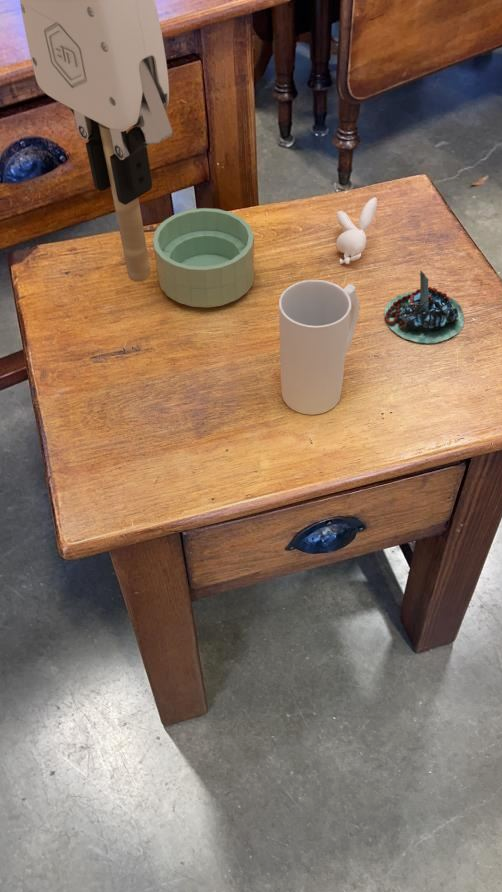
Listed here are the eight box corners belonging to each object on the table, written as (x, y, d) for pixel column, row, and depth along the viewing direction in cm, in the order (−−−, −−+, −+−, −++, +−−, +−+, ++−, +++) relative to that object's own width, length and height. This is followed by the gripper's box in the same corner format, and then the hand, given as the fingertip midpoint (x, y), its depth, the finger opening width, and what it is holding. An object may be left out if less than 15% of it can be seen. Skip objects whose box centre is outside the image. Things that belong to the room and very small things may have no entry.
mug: (312, 427, 84) (317, 337, 74) (265, 394, 87) (263, 303, 77) (376, 377, 88) (388, 286, 79) (329, 346, 91) (335, 255, 81)
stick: (139, 285, 72) (110, 132, 61) (123, 275, 73) (92, 122, 62) (155, 274, 73) (130, 121, 62) (140, 264, 74) (112, 111, 62)
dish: (420, 336, 88) (421, 266, 89) (376, 348, 94) (377, 282, 94) (473, 347, 93) (473, 280, 93) (428, 357, 99) (428, 295, 99)
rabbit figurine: (320, 263, 100) (330, 202, 101) (339, 277, 103) (349, 218, 104) (360, 253, 96) (370, 190, 97) (379, 268, 99) (388, 207, 100)
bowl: (208, 326, 93) (204, 283, 88) (139, 284, 97) (132, 240, 92) (274, 278, 98) (273, 234, 93) (205, 240, 102) (202, 196, 97)
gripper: (-52, -93, 53) (24, 172, 68) (116, -21, 47) (158, 252, 62) (41, -126, 56) (94, 134, 71) (209, -63, 50) (228, 207, 65)
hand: (123, 187), depth 66 cm, fingers closed on stick, 2 cm apart
